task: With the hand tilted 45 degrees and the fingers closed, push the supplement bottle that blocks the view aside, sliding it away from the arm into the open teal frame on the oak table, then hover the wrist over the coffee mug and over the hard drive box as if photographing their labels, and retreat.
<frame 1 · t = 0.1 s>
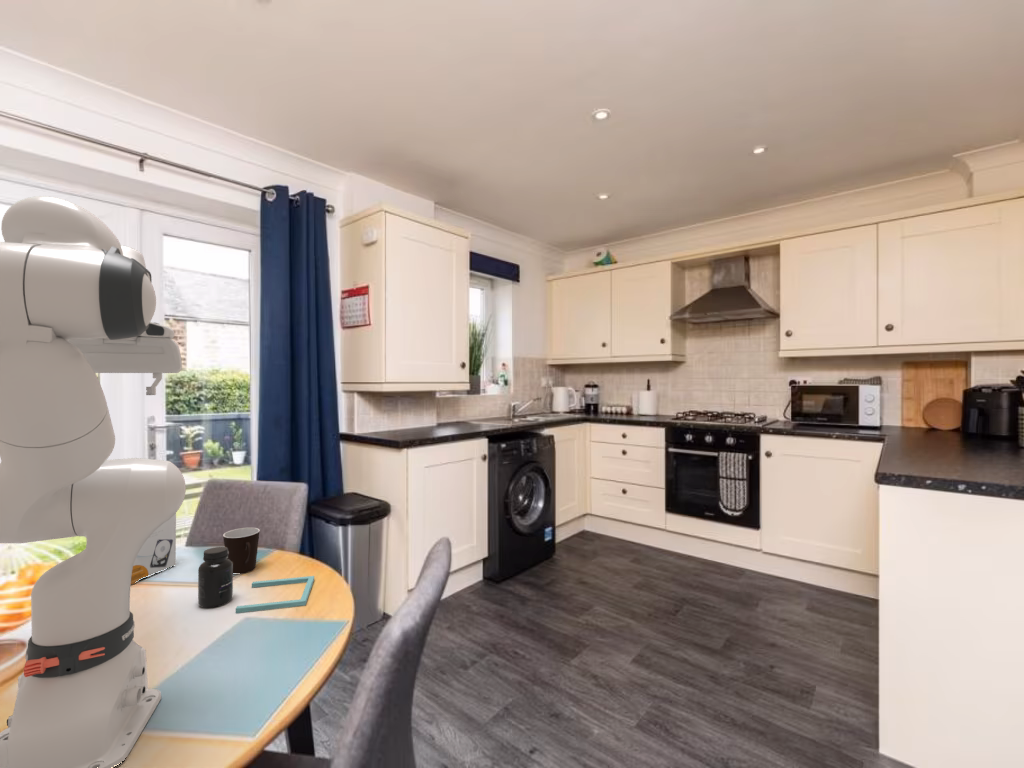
hand: (122, 395, 99), 48 cm above the table, tool pointing down, fingers open, 8 cm apart
hard drive box: (138, 576, 126), on the table
teal frame: (272, 595, 114), on the table
supplement bottle: (215, 602, 111), on the table
coffee mug: (240, 572, 128), on the table
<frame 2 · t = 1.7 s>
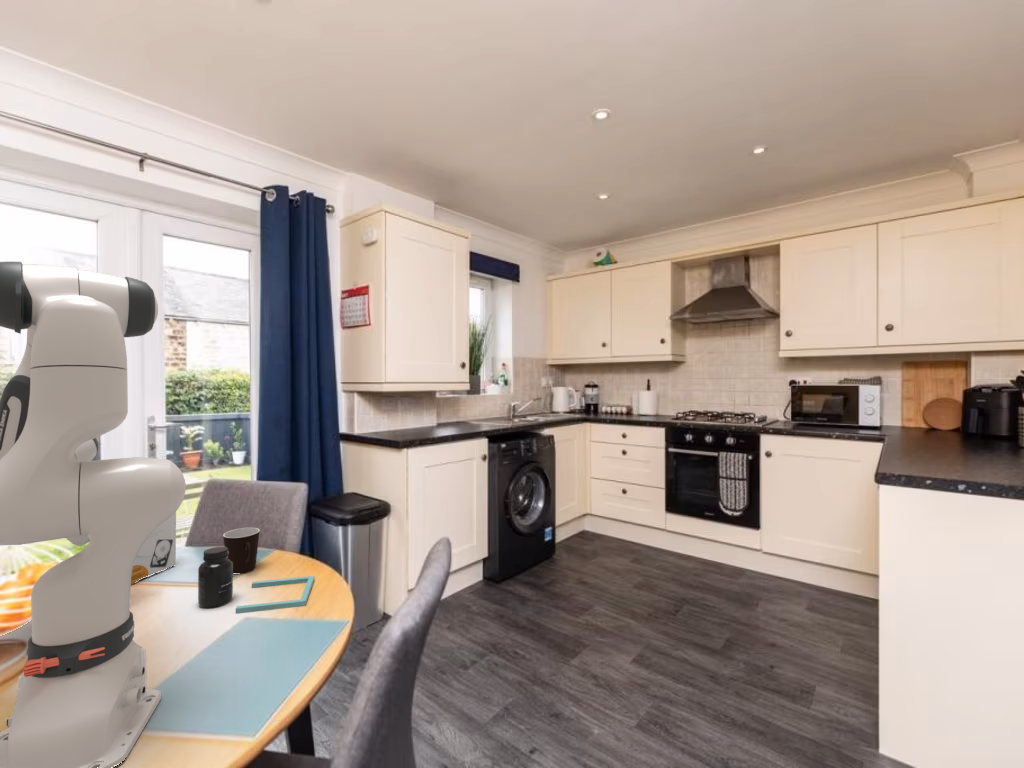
hand: (130, 539, 107), 16 cm above the table, tool tilted 45°, fingers open, 8 cm apart
nothing on the table moved.
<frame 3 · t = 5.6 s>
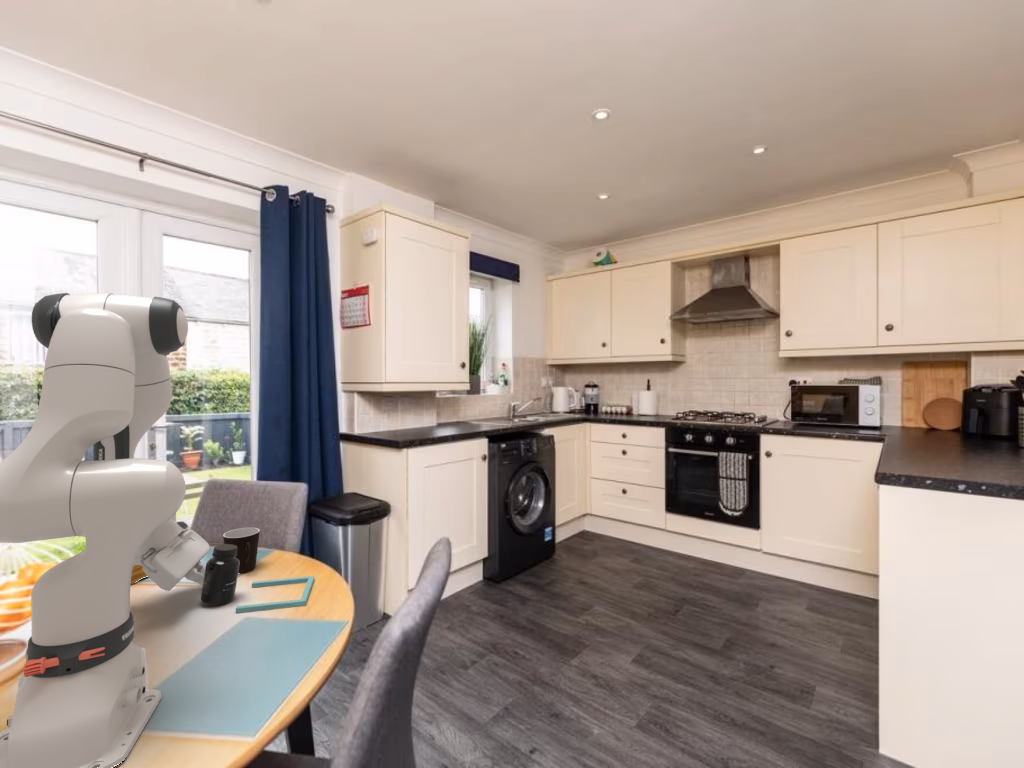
hand: (208, 581, 111), 5 cm above the table, tool tilted 45°, fingers closed, pressing on supplement bottle
supplement bottle: (217, 600, 111), on the table, touching gripper
everything else where it was.
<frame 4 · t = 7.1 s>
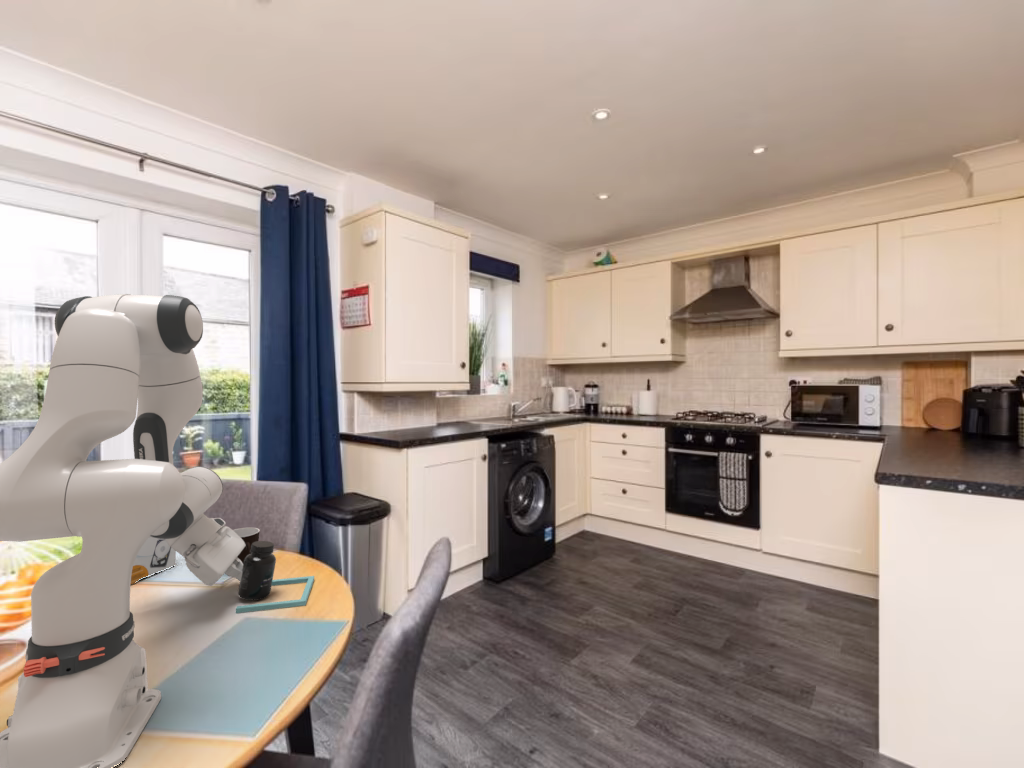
hand: (245, 577, 113), 5 cm above the table, tool tilted 45°, fingers closed, pressing on supplement bottle
supplement bottle: (254, 595, 114), on the table, touching gripper
everything else where it was.
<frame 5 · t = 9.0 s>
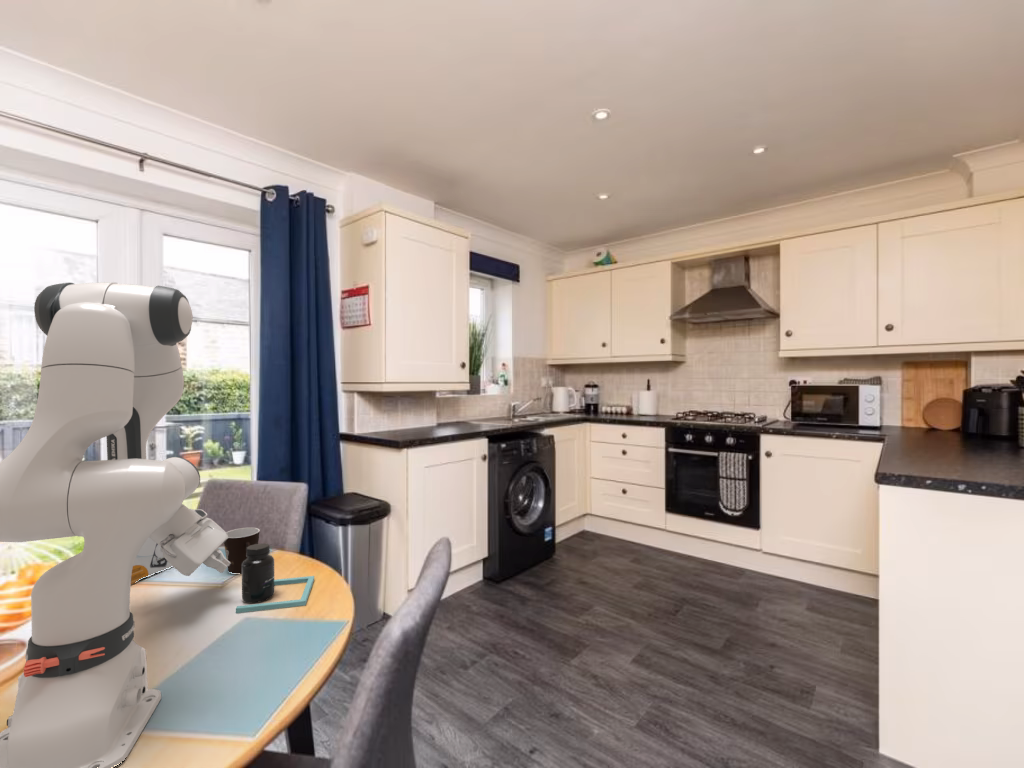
hand: (226, 568, 111), 8 cm above the table, tool tilted 45°, fingers closed
supplement bottle: (258, 598, 114), on the table
everything else where it was.
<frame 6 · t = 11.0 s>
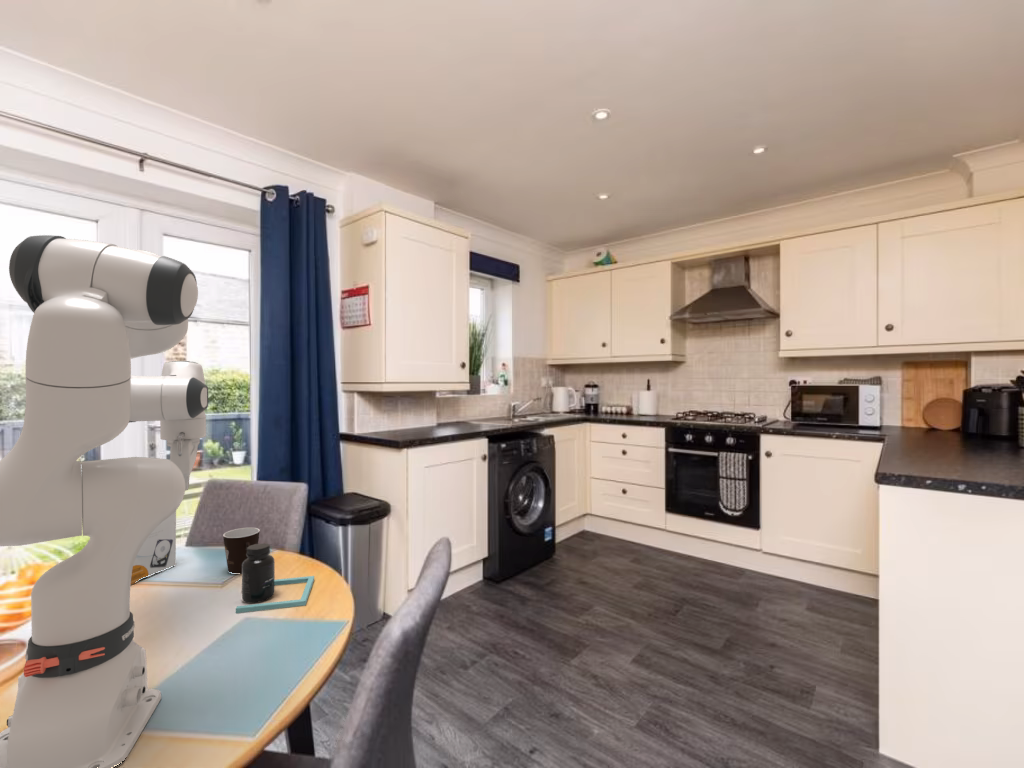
hand: (184, 489, 113), 25 cm above the table, tool pointing down, fingers closed
nothing on the table moved.
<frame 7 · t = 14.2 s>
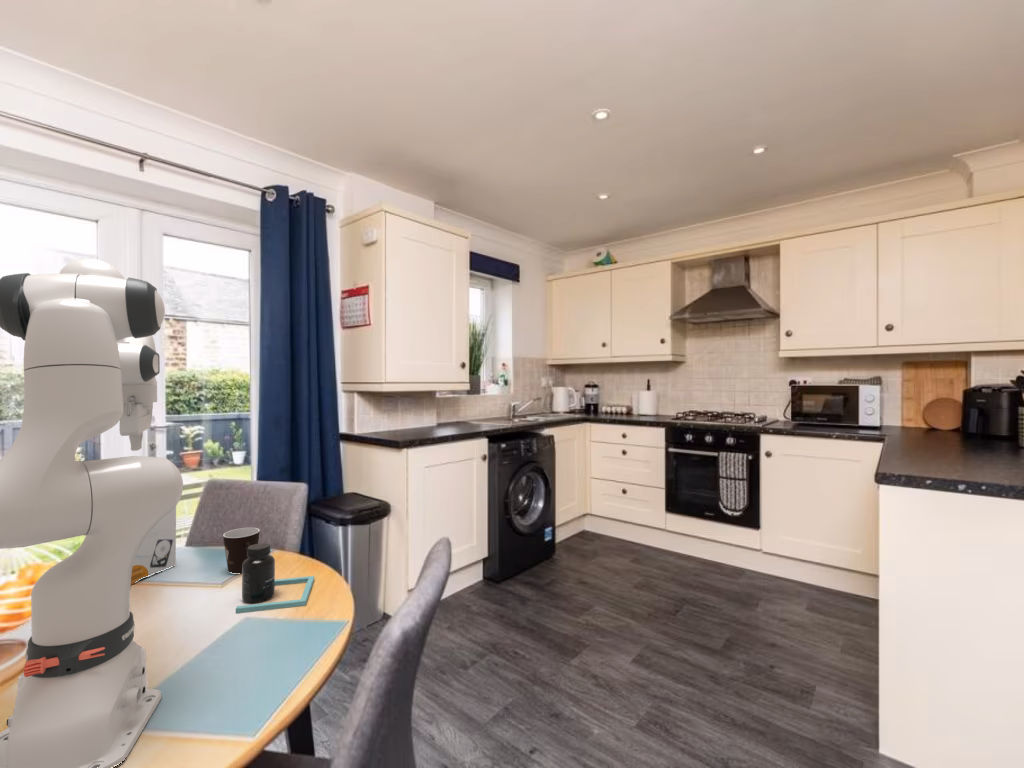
hand: (136, 449, 124), 33 cm above the table, tool pointing down, fingers closed
nothing on the table moved.
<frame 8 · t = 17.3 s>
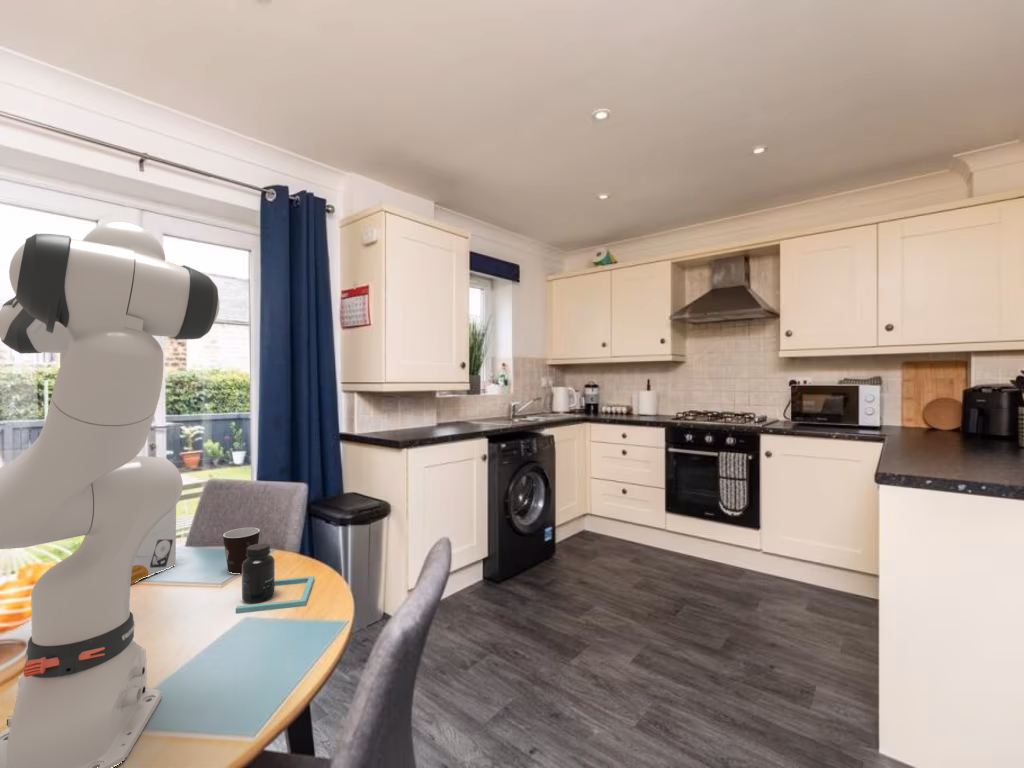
hand: (90, 438, 100), 39 cm above the table, tool pointing down, fingers closed
nothing on the table moved.
at the end: supplement bottle inside the target area on the teal frame (3.6 cm from its centre), point 0.0 cm above the teal frame's base; supplement bottle tilted 0°; supplement bottle moved 8.9 cm from its start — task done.
